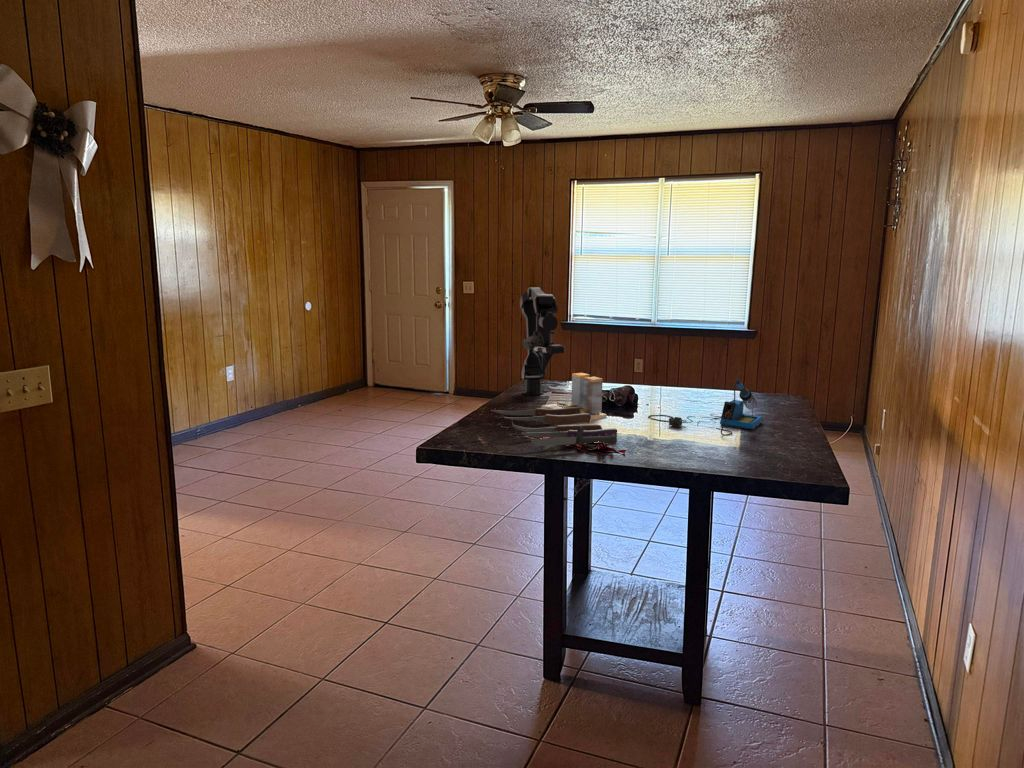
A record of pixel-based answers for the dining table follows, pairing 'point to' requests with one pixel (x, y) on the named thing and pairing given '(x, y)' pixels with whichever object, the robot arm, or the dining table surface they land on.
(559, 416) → the knife set
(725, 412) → the soldering iron
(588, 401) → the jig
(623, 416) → the dining table surface
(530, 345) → the robot arm
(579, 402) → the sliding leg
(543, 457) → the dining table surface
